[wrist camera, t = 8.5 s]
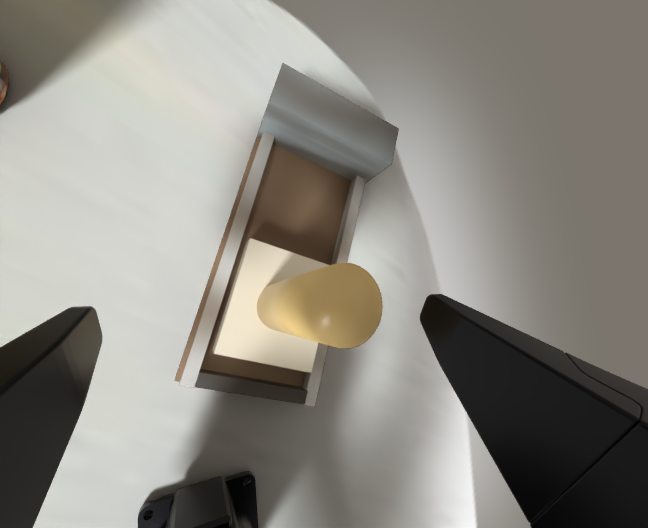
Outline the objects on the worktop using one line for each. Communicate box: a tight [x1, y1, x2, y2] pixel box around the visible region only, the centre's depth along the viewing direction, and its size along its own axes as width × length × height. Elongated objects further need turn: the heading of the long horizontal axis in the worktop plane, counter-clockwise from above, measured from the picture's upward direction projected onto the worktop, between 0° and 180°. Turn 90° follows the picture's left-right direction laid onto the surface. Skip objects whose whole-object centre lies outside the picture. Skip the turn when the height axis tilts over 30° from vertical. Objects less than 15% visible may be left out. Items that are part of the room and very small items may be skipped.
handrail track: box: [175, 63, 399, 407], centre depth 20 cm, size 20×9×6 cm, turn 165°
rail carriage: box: [212, 238, 382, 373], centre depth 15 cm, size 7×6×11 cm
